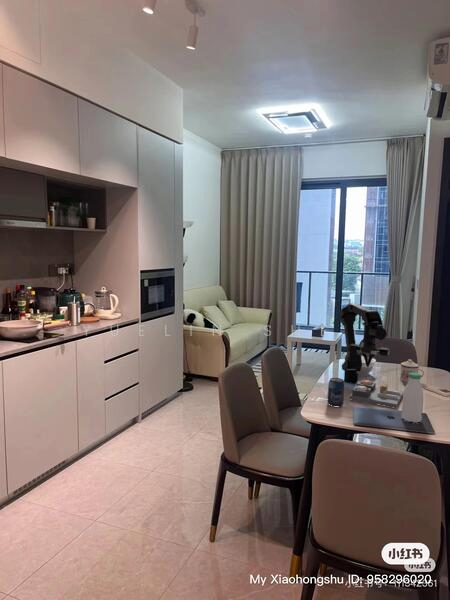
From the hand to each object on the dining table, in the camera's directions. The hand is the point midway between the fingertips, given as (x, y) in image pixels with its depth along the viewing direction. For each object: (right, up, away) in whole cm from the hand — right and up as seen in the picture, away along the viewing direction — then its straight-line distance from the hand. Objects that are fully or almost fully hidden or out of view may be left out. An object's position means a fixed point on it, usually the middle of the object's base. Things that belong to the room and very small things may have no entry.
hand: (367, 366), depth 213 cm
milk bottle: (+7, -17, -34) cm, 38 cm away
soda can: (-21, -15, -18) cm, 31 cm away
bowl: (+7, -10, +34) cm, 36 cm away
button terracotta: (0, -10, +1) cm, 10 cm away
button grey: (-6, -11, -8) cm, 15 cm away
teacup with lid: (+31, -11, +22) cm, 39 cm away
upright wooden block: (+5, -12, -8) cm, 15 cm away
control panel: (+2, -14, -7) cm, 16 cm away
